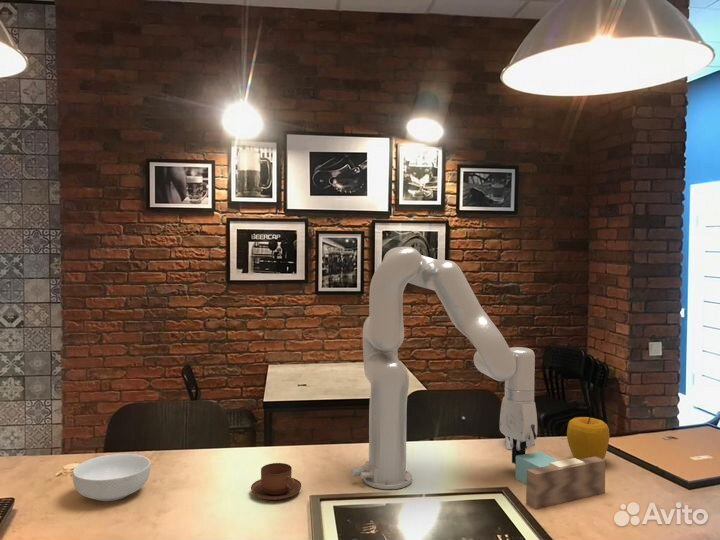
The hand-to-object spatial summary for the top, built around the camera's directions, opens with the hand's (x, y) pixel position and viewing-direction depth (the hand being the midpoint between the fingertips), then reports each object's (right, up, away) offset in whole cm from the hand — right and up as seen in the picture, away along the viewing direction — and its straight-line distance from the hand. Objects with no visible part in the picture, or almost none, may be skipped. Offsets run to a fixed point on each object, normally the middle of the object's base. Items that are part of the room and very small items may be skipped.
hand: (518, 463), depth 150 cm
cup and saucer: (-62, -3, -14) cm, 64 cm away
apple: (+22, -3, +8) cm, 23 cm away
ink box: (+5, -2, +22) cm, 23 cm away
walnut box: (+7, -3, -15) cm, 17 cm away
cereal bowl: (-101, -3, -15) cm, 102 cm away
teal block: (+4, -3, -6) cm, 8 cm away
